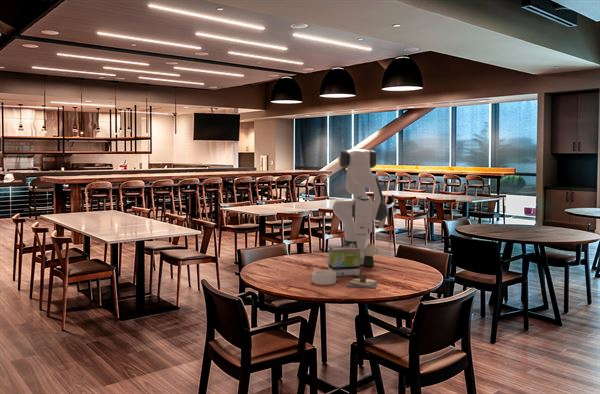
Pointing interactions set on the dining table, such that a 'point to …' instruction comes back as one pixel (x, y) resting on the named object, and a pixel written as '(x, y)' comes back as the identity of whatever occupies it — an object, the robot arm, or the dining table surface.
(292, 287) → the dining table surface
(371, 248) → the character mug
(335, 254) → the tea box
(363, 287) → the mat
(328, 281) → the bowl
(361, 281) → the lid
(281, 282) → the dining table surface
